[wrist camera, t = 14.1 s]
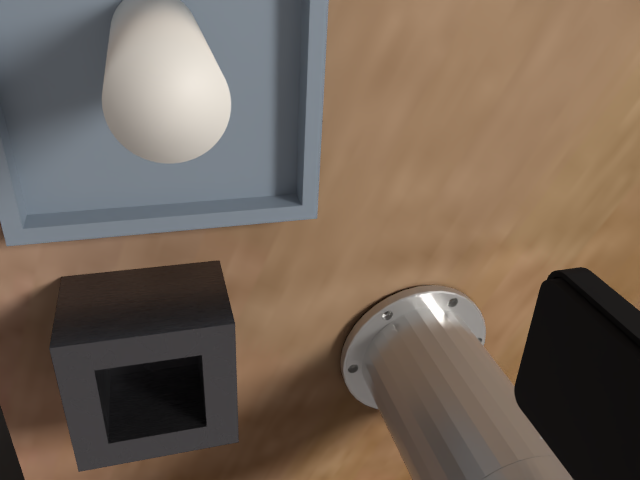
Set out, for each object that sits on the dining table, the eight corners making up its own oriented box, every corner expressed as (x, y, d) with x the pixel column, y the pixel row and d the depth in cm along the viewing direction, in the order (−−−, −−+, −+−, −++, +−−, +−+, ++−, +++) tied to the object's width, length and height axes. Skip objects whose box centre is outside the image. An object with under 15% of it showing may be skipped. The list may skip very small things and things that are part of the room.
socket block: (224, 370, 45) (238, 442, 39) (85, 391, 42) (78, 471, 37) (219, 260, 40) (234, 323, 34) (61, 276, 37) (49, 348, 32)
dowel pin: (201, 77, 33) (232, 159, 23) (116, 79, 31) (110, 167, 22) (196, -10, 30) (229, 39, 20) (104, -11, 29) (92, 41, 19)
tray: (307, 201, 39) (317, 218, 37) (13, 224, 35) (6, 246, 33) (324, -207, 28) (339, -215, 26) (-103, -252, 24) (-125, -265, 22)
